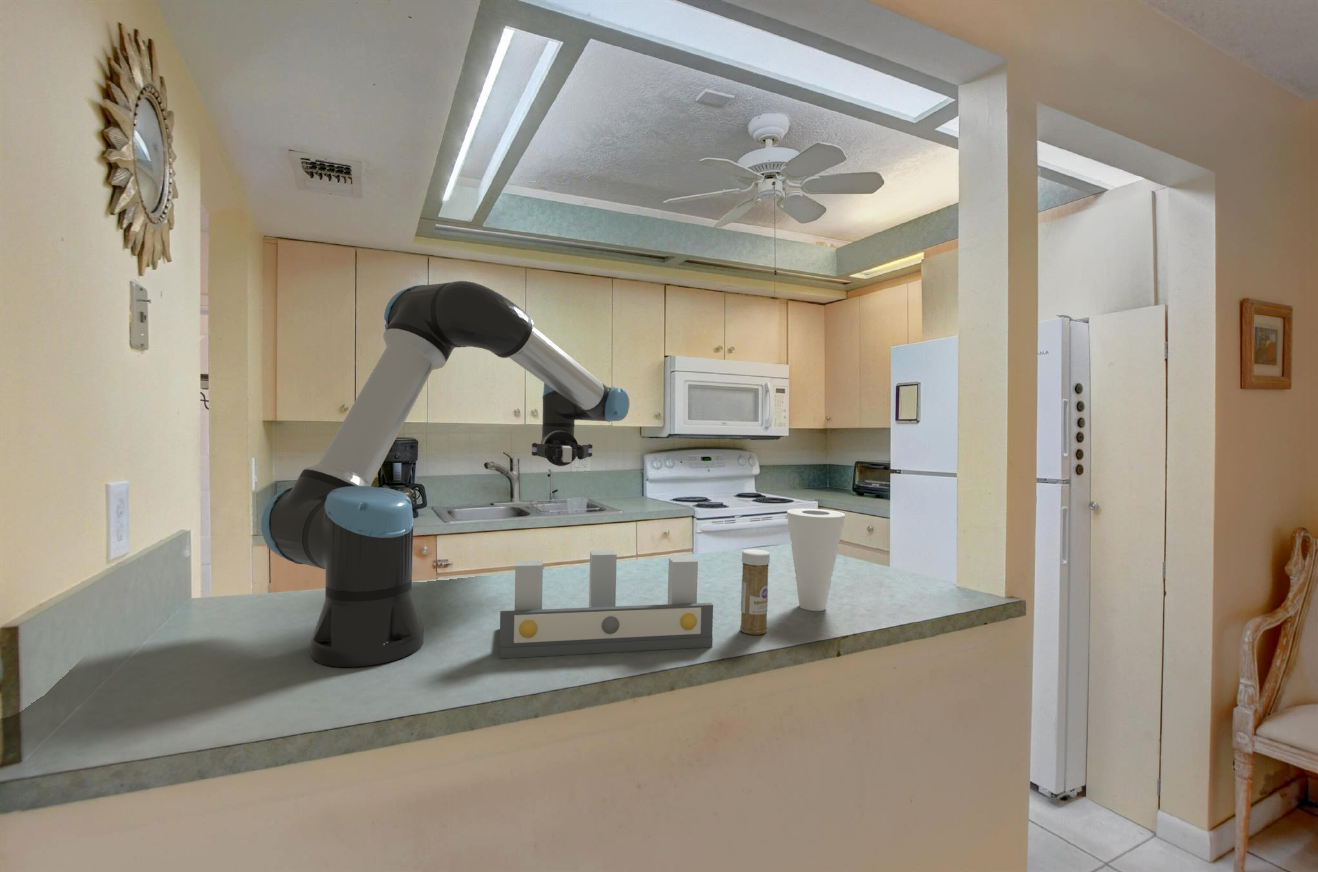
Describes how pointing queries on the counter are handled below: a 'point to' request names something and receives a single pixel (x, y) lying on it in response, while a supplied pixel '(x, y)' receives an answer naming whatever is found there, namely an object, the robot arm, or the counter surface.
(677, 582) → the key far
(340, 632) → the robot arm
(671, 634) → the key console
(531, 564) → the key near
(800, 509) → the cup
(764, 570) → the sprinkles bottle
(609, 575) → the key mid
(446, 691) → the counter surface
